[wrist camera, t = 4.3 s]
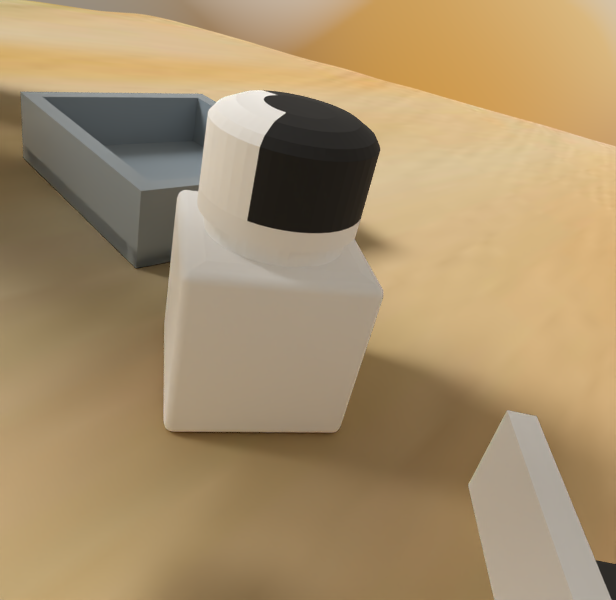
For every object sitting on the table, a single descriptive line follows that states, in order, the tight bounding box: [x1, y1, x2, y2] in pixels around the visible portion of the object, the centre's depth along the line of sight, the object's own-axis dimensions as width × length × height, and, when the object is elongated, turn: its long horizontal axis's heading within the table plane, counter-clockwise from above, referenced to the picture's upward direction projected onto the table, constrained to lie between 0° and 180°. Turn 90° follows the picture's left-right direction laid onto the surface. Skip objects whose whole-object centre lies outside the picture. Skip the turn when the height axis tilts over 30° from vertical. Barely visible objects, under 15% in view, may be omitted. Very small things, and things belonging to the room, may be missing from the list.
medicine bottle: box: [163, 90, 383, 433], centre depth 23 cm, size 7×7×12 cm
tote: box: [21, 92, 216, 268], centre depth 39 cm, size 16×14×4 cm
